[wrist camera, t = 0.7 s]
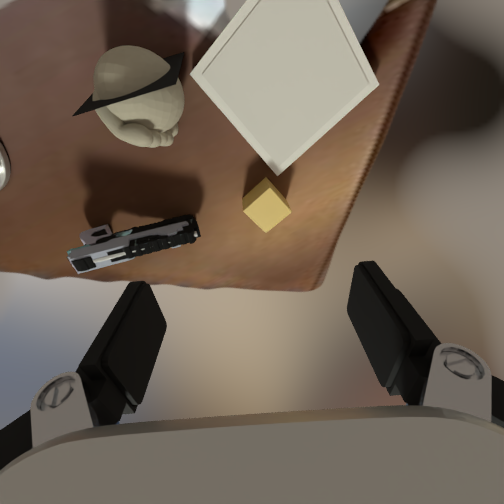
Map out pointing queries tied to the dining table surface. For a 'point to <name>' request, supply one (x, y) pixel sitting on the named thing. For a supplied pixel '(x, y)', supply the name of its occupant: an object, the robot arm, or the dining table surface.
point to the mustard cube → (265, 205)
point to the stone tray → (285, 74)
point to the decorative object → (138, 95)
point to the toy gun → (130, 242)
